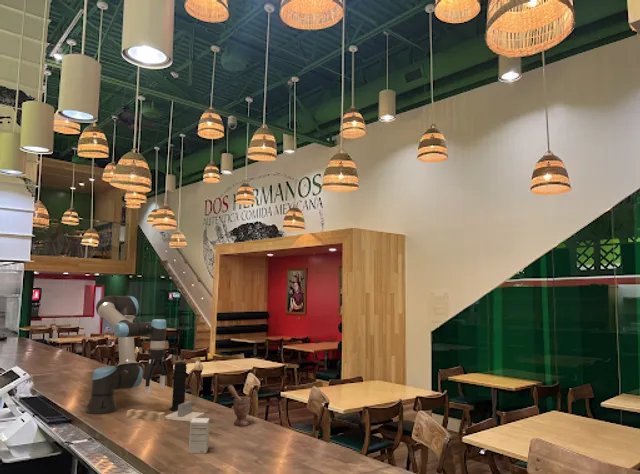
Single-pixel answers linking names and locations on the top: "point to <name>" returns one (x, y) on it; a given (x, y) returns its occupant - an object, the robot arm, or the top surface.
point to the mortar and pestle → (240, 407)
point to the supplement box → (199, 435)
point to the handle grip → (179, 385)
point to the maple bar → (146, 415)
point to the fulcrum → (184, 413)
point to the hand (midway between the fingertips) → (155, 390)
